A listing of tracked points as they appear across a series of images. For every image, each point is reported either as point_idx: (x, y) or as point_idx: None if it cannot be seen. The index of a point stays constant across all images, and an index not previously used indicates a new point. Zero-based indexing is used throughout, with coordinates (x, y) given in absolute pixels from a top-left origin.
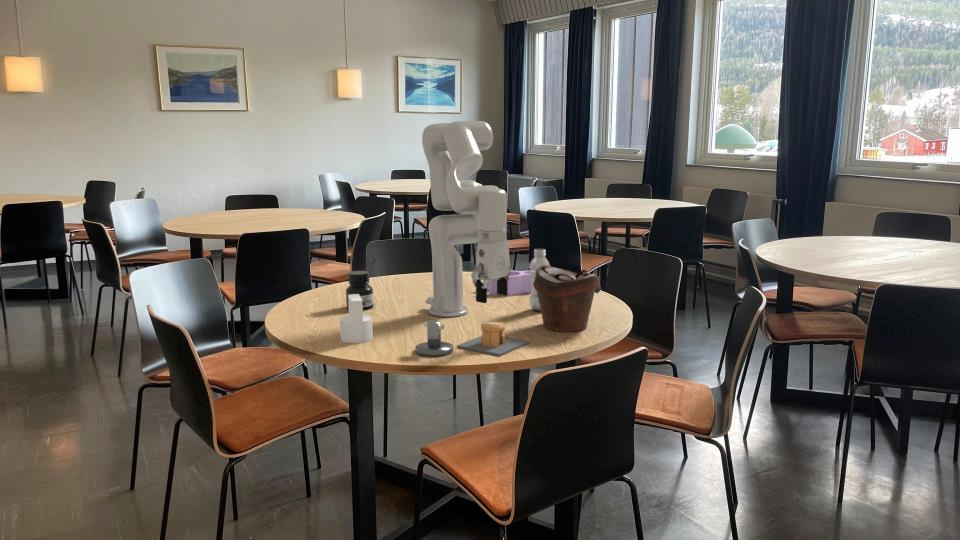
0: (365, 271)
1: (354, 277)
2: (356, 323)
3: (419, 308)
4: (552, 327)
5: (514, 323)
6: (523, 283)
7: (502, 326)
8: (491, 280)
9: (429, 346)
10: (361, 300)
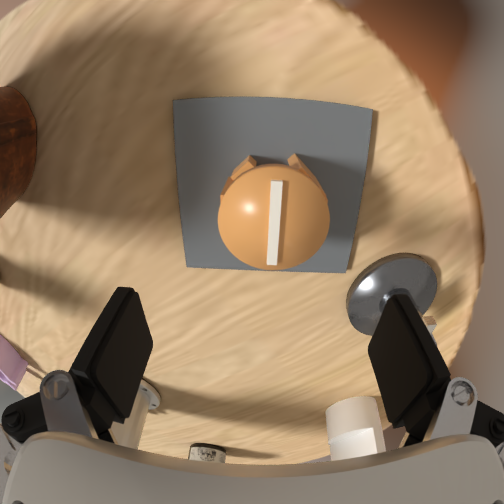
0: None
1: None
2: (379, 426)
3: (148, 415)
4: (31, 141)
5: (61, 261)
6: None
7: (276, 169)
8: (455, 435)
9: None
10: None
